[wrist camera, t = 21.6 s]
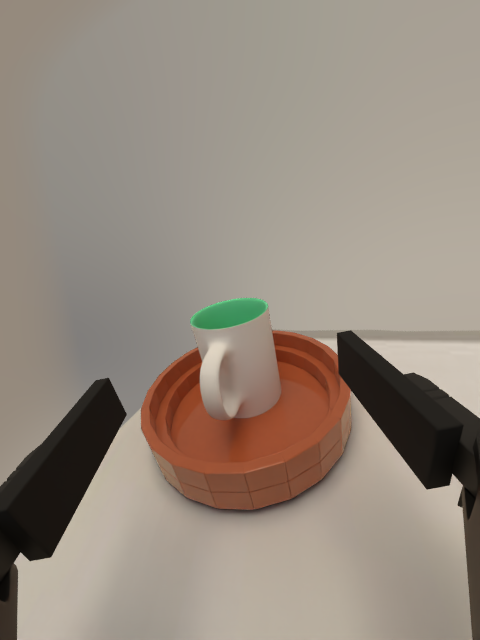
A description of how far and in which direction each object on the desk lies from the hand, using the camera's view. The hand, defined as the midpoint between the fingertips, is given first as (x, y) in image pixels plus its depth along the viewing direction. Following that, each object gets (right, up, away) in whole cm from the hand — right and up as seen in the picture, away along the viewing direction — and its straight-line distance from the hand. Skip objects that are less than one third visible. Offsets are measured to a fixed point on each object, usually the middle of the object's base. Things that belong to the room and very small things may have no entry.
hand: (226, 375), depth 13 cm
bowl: (+2, -7, +13) cm, 14 cm away
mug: (+1, -6, +13) cm, 14 cm away
